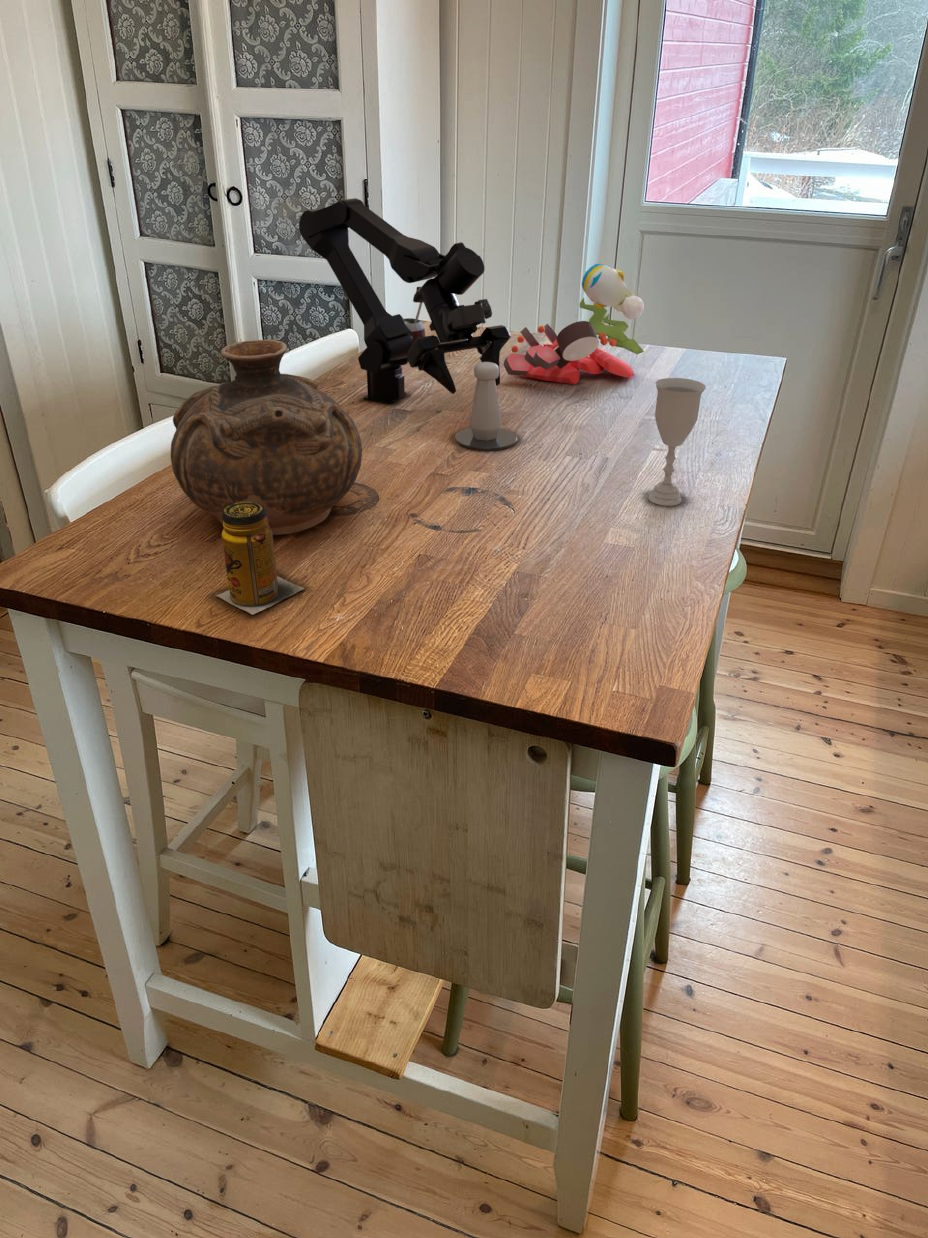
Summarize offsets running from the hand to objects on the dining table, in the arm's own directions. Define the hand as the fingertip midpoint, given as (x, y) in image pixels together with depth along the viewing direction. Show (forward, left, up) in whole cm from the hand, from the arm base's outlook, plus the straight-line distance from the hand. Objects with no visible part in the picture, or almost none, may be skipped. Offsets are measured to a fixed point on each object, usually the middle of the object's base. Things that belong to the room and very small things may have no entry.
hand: (476, 388), depth 165 cm
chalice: (+38, -14, -9) cm, 41 cm away
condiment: (-2, -65, -9) cm, 65 cm away
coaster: (+3, -2, -8) cm, 9 cm away
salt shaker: (+3, -2, -8) cm, 9 cm away
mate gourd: (-32, +39, -9) cm, 52 cm away
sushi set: (+6, +41, -9) cm, 43 cm away
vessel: (-14, -44, -9) cm, 47 cm away
